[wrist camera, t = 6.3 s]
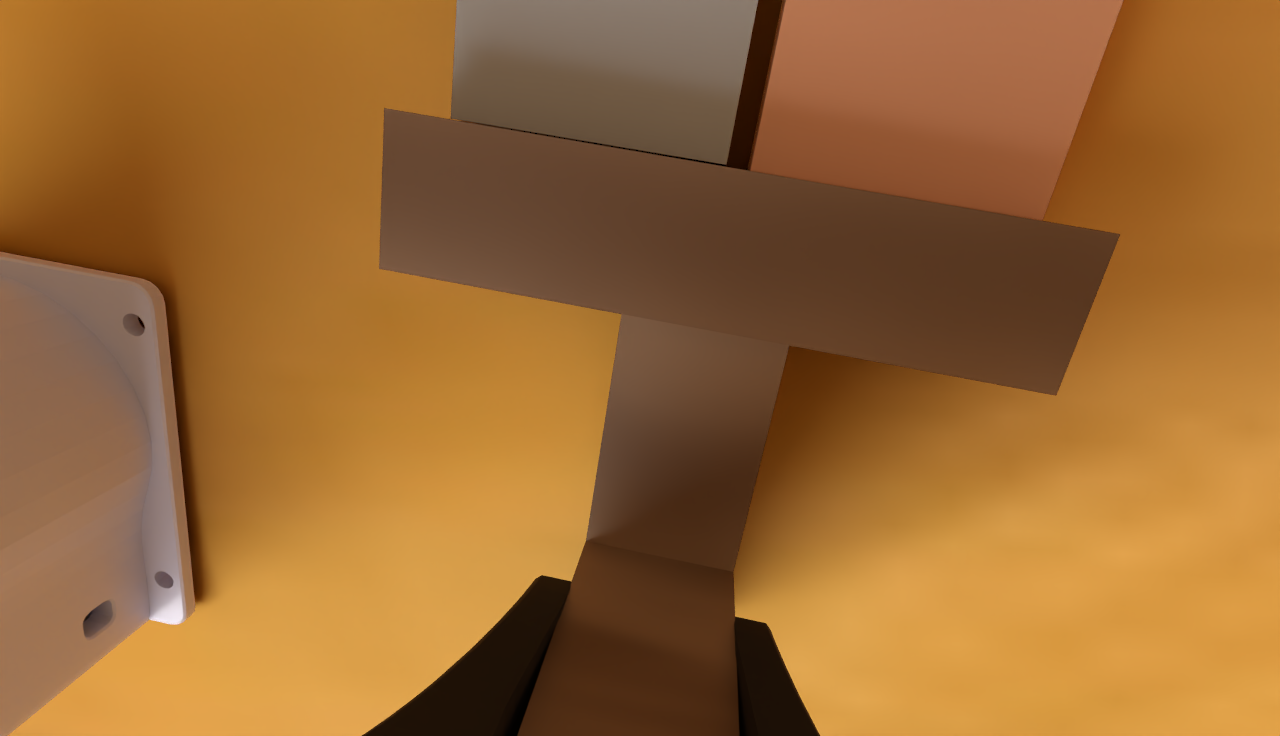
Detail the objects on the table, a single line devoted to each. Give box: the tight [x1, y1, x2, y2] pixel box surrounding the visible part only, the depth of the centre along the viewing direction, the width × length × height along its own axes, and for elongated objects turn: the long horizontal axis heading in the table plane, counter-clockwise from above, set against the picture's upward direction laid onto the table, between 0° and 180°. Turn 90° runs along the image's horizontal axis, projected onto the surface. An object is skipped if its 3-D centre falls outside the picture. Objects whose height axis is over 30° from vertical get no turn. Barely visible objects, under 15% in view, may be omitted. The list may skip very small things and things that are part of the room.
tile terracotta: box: [748, 0, 1123, 221], centre depth 11 cm, size 5×5×2 cm
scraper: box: [379, 108, 1120, 736], centre depth 10 cm, size 10×11×9 cm
